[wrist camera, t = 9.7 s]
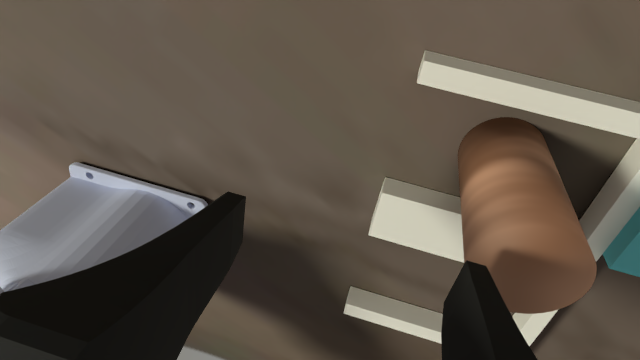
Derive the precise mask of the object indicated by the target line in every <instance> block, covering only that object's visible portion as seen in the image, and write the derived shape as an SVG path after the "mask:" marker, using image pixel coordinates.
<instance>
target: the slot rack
mask: <svg viewBox="0 0 640 360" xmlns="http://www.w3.org/2000/svg"><path fill="white" fill-rule="evenodd" d="M417 83H418V84H422V85H426V86H430V87H434V88H438V89H442V90H446V91H450V92H454V93H458V94H462V95H466V96H470V97H474V98H478V99H482V100H486V101H490V102H494V103H498V104H502V105H506V106H510V107H514V108H518V109H522V110H526V111H530V112H534V113H538V114H542V115H546V116H550V117H554V118H558V119H562V120H566V121H570V122H574V123H578V124H582V125H586V126H590V127H594V128H598V129H602V130H606V131H610V132H614V133H618V134H622V135H626V136H630V137H634V138H637V139H636V140H635V142H634V143H633V144H632V146H631V147H630V149H629V150H628V152H627V153H626V154H625V156H624V157H623V159H622V160H621V162H620V163H619V164H618V166H617V167H616V169H615V170H614V172H613V173H612V175H611V176H610V177H609V179H608V180H607V182H606V183H605V185H604V186H603V187H602V189H601V190H600V192H599V193H598V195H597V196H596V197H595V199H594V200H593V202H592V203H591V205H590V206H589V207H588V209H587V210H586V212H585V213H584V215H583V216H582V218H581V219H580V220H579V222H580V225H581V227H582V229H583V232H584V234H585V237H586V239H587V241H588V244H589V246H590V248H591V251H592V253H593V256H594V258H595V261H597V260H598V259H599V258H600V256H601V255H602V254H603V256H604V258H605V261H606V263H607V265H608V267H609V269H613V270H616V271H620V272H623V273H627V274H630V275H634V276H638V277H640V102H637V101H633V100H629V99H625V98H621V97H617V96H612V95H608V94H604V93H600V92H596V91H592V90H588V89H584V88H579V87H575V86H571V85H567V84H563V83H559V82H555V81H551V80H546V79H542V78H538V77H534V76H530V75H526V74H522V73H518V72H513V71H509V70H505V69H501V68H497V67H493V66H489V65H485V64H480V63H476V62H472V61H468V60H464V59H460V58H456V57H452V56H447V55H443V54H439V53H435V52H431V51H427V50H425V52H424V55H423V58H422V61H421V65H420V68H419V71H418V78H417ZM368 235H370V236H373V237H377V238H380V239H384V240H387V241H390V242H394V243H397V244H401V245H404V246H408V247H411V248H415V249H418V250H422V251H425V252H429V253H432V254H436V255H439V256H442V257H446V258H449V259H453V260H456V261H460V262H463V263H464V251H463V234H462V218H461V202H460V197H457V196H453V195H449V194H446V193H442V192H438V191H435V190H431V189H428V188H424V187H420V186H417V185H413V184H409V183H406V182H402V181H398V180H395V179H391V178H387V177H385V179H384V182H383V185H382V188H381V191H380V194H379V198H378V201H377V204H376V207H375V210H374V213H373V217H372V220H371V225H370V230H369V234H368ZM558 310H559V309H558ZM558 310H555V311H551V312H545V313H537V314H523V313H515V314H514V315H513V316H512V317H513V319H514V321H515V323H516V325H517V326H518V328H519V330H520V332H521V334H522V335H523V337H524V339H525V340H526V342H527V344H528V345H529V346H530V345H531V344H532V343H533V341H534V340H535V339H536V338H537V336H538V335H539V334H540V332H541V331H542V330H543V329H544V327H545V326H546V325H547V324H548V322H549V321H550V320H551V319H552V317H553V316H554V315H555V313H556V312H557V311H558ZM344 314H347V315H350V316H353V317H357V318H360V319H363V320H366V321H370V322H373V323H376V324H379V325H383V326H386V327H389V328H392V329H396V330H399V331H402V332H405V333H408V334H412V335H415V336H418V337H421V338H425V339H428V340H431V341H434V342H438V343H441V344H442V341H441V330H442V318H443V314H441V313H438V312H435V311H432V310H428V309H425V308H422V307H418V306H415V305H412V304H408V303H405V302H402V301H398V300H395V299H392V298H388V297H385V296H382V295H379V294H375V293H372V292H369V291H365V290H362V289H359V288H355V287H352V286H350V289H349V293H348V296H347V300H346V304H345V309H344Z"/></svg>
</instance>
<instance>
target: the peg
mask: <svg viewBox="0 0 640 360" xmlns="http://www.w3.org/2000/svg"><path fill="white" fill-rule="evenodd" d="M458 169H459V185H460V202H461V218H462V234H463V251H464V264H465V262H466V260H468V261H471V262H474V263H478V264H481V265H485V266H487V268H488V270H489V272H490V274H491V276H492V278H493V280H494V282H495V284H496V286H497V288H498V290H499V292H500V294H501V296H502V298H503V300H504V302H505V304H506V306H507V308H508V310H509V312H514V313H523V314H537V313H545V312H551V311H555V310H558V309H561V308H564V307H566V306H568V305H571V304H573V303H574V302H576V301H577V300H579V299H580V298H581V297H583V296H584V295H585V294H586V293H587V292H588V291H589V289H590V288H591V286H592V285H593V283H594V281H595V278H596V274H597V266H596V261H595V258H594V256H593V253H592V251H591V248H590V246H589V244H588V241H587V239H586V237H585V234H584V232H583V229H582V227H581V225H580V222H579V220H578V218H577V215H576V213H575V210H574V208H573V206H572V203H571V201H570V199H569V196H568V194H567V191H566V189H565V187H564V184H563V182H562V180H561V177H560V175H559V172H558V170H557V168H556V165H555V163H554V161H553V158H552V156H551V153H550V151H549V149H548V146H547V144H546V142H545V139H544V137H543V135H542V134H541V132H540V131H539V130H538V129H537V128H536V127H535V126H533V125H532V124H530V123H528V122H526V121H524V120H521V119H517V118H508V117H504V118H495V119H491V120H488V121H485V122H483V123H481V124H479V125H477V126H476V127H474V128H473V129H472V130H471V131H469V132H468V134H467V135H466V136H465V137H464V139H463V140H462V142H461V144H460V147H459V150H458Z"/></svg>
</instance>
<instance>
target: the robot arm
mask: <svg viewBox="0 0 640 360" xmlns="http://www.w3.org/2000/svg"><path fill="white" fill-rule="evenodd" d="M69 171H70V176H71V177H70V178H69V179H67V180H66V181H65V182H63V183H62V184H61V185H59V186H58V187H57V188H55V189H54V190H53V191H51V192H50V193H49V194H47V195H46V196H45V197H44V198H42V199H41V200H40V201H38V202H37V203H36V204H34V205H33V206H32V207H30V208H29V209H28V210H26V211H25V212H24V213H22V214H21V215H20V216H18V217H17V218H16V219H14V220H13V221H12V222H11V223H9V224H8V225H7V226H5V227H4V228H3V229H1V230H0V360H177V358H178V356H179V354H180V352H181V350H182V348H183V346H184V344H185V342H186V340H187V338H188V336H189V334H190V332H191V330H192V328H193V327H194V325H195V323H196V322H197V320H198V318H199V317H200V315H201V314H202V312H203V311H204V309H205V307H206V306H207V304H208V303H209V301H210V299H211V298H212V296H213V295H214V293H215V291H216V290H217V288H218V287H219V285H220V284H221V282H222V280H223V279H224V277H225V275H226V274H227V272H228V271H229V269H230V267H231V265H232V263H233V261H234V259H235V257H236V254H237V252H238V250H239V248H240V246H241V243H242V237H243V225H244V213H245V201H246V197H245V196H242V195H238V194H235V193H231V192H227V193H225V194H223V195H222V196H220V197H219V198H218V199H216V200H215V201H213V202H212V203H210V204H209V205H208V204H207V202H206V201H205V200H203V199H201V198H198V197H195V196H191V195H188V194H184V193H181V192H177V191H174V190H171V189H167V188H164V187H160V186H157V185H153V184H150V183H147V182H143V181H140V180H136V179H133V178H129V177H126V176H123V175H119V174H116V173H112V172H109V171H105V170H102V169H99V168H95V167H92V166H88V165H85V164H81V163H78V162H75V163H73V164H71V165H70V166H69ZM191 203H193V204H194V205H193V204H191ZM441 341H442V360H537V358H536V357H535V355H534V353H533V352H532V350H531V349H530V347H529V345H528V344H527V342H526V340H525V339H524V337H523V335H522V334H521V332H520V330H519V328H518V326H517V325H516V323H515V321H514V319H513V317H512V316H511V314H510V312H509V310H508V308H507V306H506V304H505V302H504V300H503V298H502V296H501V294H500V292H499V290H498V288H497V286H496V284H495V282H494V280H493V278H492V276H491V274H490V272H489V270H488V268H487V266H485V265H481V264H478V263H474V262H471V261H468V260H466V262H465V264H464V266H463V268H462V269H461V271H460V273H459V275H458V277H457V279H456V281H455V283H454V285H453V286H452V288H451V290H450V292H449V294H448V296H447V298H446V300H445V302H444V308H443V318H442V330H441Z"/></svg>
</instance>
